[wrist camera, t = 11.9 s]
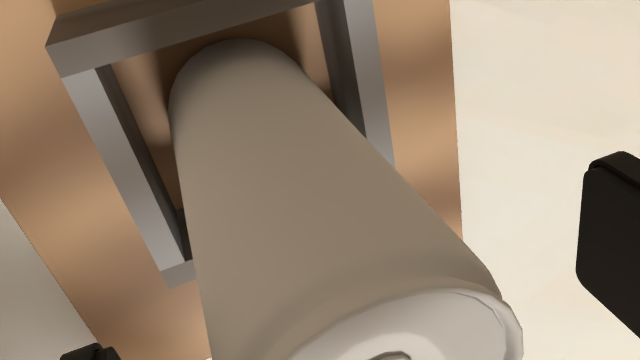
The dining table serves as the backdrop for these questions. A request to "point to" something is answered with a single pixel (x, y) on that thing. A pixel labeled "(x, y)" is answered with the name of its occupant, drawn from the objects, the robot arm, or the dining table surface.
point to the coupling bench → (156, 143)
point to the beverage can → (315, 227)
